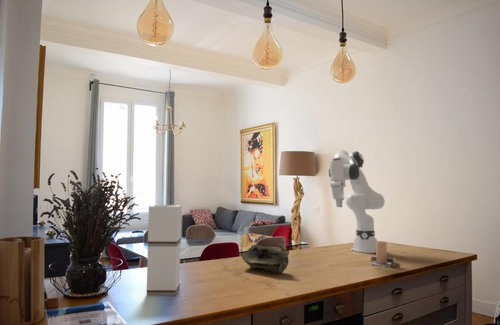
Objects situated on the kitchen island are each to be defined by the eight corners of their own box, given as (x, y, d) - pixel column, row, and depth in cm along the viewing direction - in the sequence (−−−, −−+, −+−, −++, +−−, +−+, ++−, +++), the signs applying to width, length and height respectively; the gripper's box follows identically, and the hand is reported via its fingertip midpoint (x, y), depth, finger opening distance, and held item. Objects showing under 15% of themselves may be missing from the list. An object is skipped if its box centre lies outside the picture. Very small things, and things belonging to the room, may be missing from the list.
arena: (371, 260, 218) (371, 256, 218) (396, 262, 213) (396, 258, 213) (369, 265, 206) (369, 260, 206) (395, 267, 201) (395, 263, 201)
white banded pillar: (179, 287, 158) (181, 205, 160) (175, 295, 147) (177, 206, 149) (152, 287, 157) (154, 204, 159) (146, 295, 147) (148, 206, 149)
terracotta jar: (376, 262, 213) (376, 240, 213) (386, 262, 211) (386, 241, 211) (376, 263, 208) (375, 242, 208) (386, 264, 205) (386, 242, 206)
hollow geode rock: (288, 285, 180) (302, 260, 188) (276, 270, 175) (291, 244, 182) (249, 273, 201) (263, 250, 208) (237, 259, 195) (252, 236, 202)
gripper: (335, 185, 237) (337, 207, 235) (329, 183, 218) (331, 207, 216) (345, 185, 234) (347, 207, 232) (340, 182, 216) (342, 206, 214)
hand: (339, 207), depth 224 cm, fingers open, 8 cm apart
